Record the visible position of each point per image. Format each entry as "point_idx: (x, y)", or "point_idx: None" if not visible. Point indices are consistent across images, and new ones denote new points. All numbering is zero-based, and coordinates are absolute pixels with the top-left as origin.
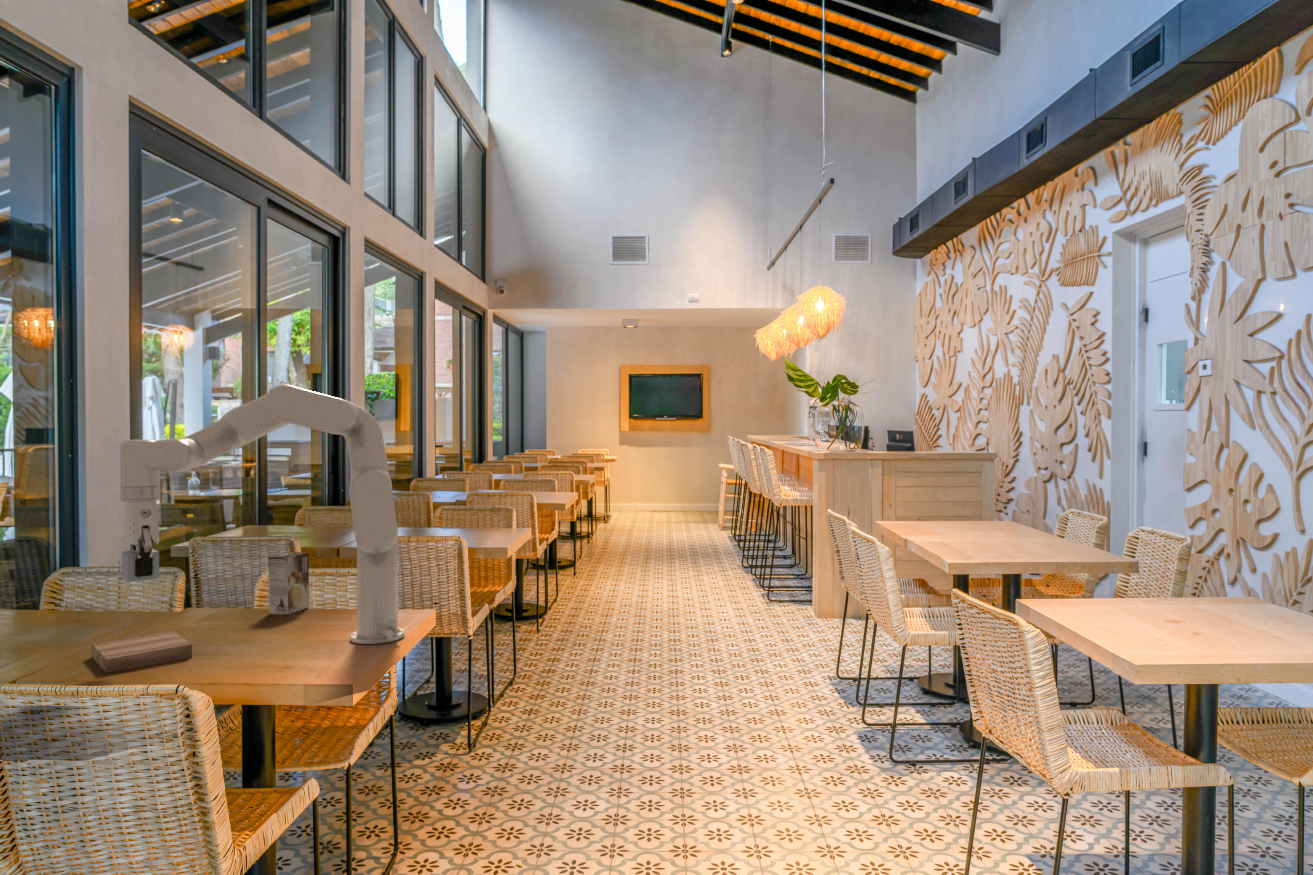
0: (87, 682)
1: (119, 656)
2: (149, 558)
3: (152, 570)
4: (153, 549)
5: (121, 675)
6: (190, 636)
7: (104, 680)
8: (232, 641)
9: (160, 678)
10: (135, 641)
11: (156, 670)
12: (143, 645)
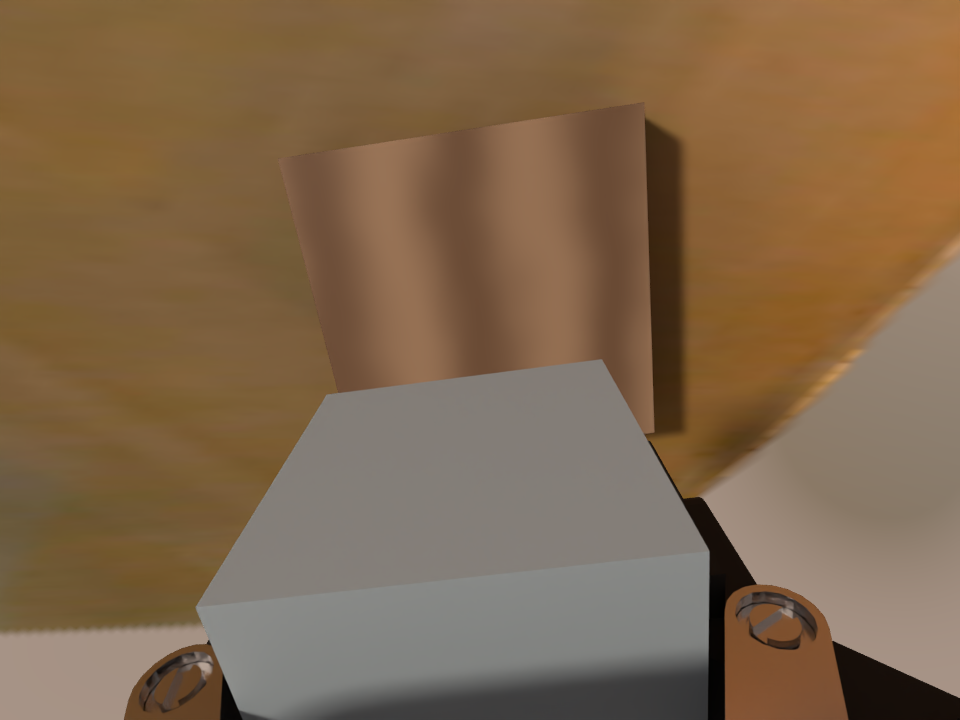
0: (714, 455)
1: (647, 391)
2: (723, 598)
3: (660, 462)
4: (307, 602)
5: (708, 366)
6: (185, 65)
7: (731, 413)
8: None
9: (865, 252)
10: (411, 328)
11: (733, 257)
12: (515, 303)
